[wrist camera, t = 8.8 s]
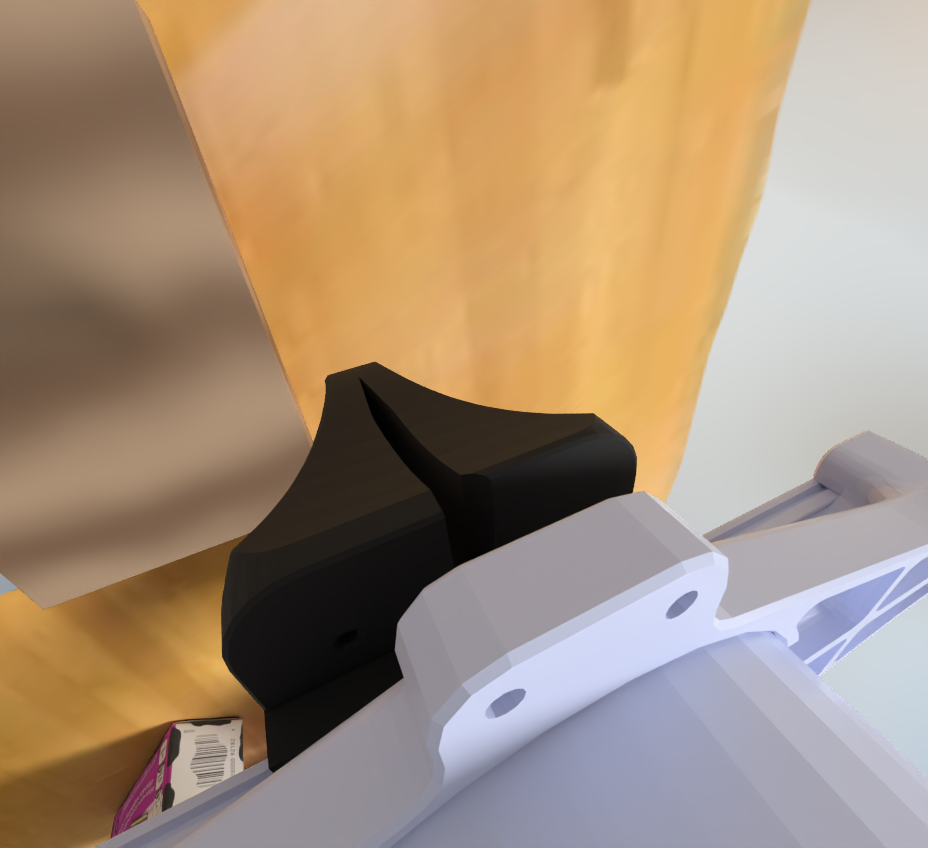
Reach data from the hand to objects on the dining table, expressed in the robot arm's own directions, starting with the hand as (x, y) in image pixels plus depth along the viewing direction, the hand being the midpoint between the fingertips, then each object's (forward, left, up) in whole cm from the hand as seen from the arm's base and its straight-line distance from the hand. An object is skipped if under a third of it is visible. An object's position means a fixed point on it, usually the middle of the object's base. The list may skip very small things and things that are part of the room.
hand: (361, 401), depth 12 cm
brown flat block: (0, +8, -10) cm, 13 cm away
